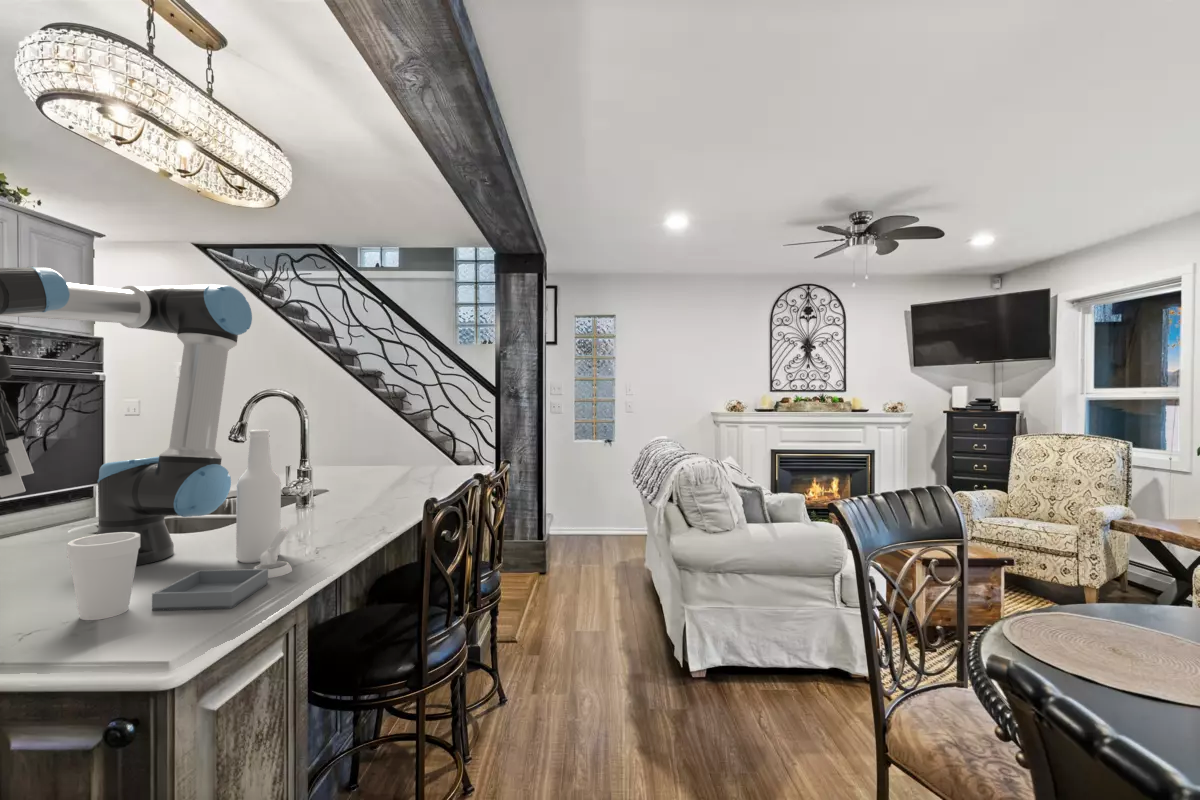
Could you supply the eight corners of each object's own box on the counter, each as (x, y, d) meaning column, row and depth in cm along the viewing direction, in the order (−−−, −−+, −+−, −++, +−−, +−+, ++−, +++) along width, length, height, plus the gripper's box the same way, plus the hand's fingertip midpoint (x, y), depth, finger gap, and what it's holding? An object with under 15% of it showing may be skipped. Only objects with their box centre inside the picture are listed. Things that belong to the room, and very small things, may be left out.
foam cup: (148, 610, 98) (148, 537, 98) (78, 628, 90) (78, 549, 90) (127, 599, 103) (127, 529, 103) (60, 615, 95) (60, 540, 95)
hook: (301, 554, 115) (270, 537, 114) (271, 597, 117) (240, 581, 115) (316, 537, 122) (287, 521, 121) (287, 578, 124) (258, 562, 122)
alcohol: (231, 565, 124) (232, 431, 123) (241, 554, 132) (241, 429, 132) (276, 561, 127) (277, 430, 127) (283, 551, 135) (284, 428, 135)
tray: (198, 585, 111) (198, 570, 111) (267, 583, 112) (267, 568, 112) (152, 610, 98) (152, 593, 98) (231, 608, 99) (231, 591, 99)
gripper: (-50, 357, 93) (-4, 475, 98) (-87, 367, 74) (-28, 512, 79) (13, 349, 98) (54, 462, 103) (-8, 357, 79) (43, 494, 84)
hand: (18, 484), depth 91 cm, fingers open, 13 cm apart
